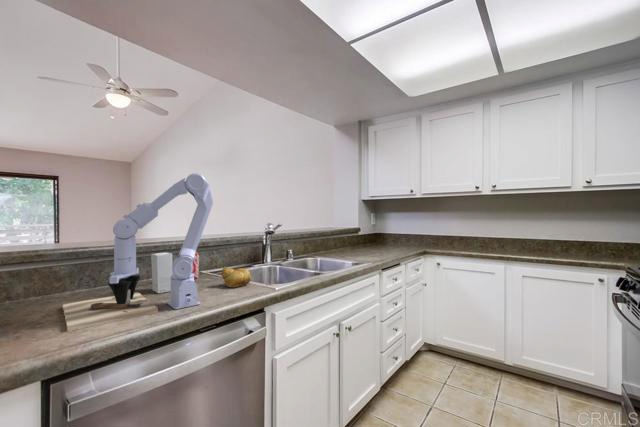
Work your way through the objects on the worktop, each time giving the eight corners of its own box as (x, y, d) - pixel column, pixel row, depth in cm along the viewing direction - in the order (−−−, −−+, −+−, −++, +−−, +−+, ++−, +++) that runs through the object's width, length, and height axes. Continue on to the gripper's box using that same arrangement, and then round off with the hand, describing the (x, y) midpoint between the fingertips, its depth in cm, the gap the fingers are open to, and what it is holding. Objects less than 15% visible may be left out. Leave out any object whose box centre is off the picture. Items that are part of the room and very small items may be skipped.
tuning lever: (88, 309, 87) (88, 292, 87) (95, 305, 90) (95, 289, 90) (136, 308, 88) (136, 291, 88) (142, 304, 91) (142, 288, 92)
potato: (245, 280, 131) (245, 263, 131) (258, 284, 125) (258, 265, 125) (219, 286, 122) (219, 267, 122) (231, 290, 115) (231, 270, 115)
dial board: (158, 312, 89) (158, 308, 89) (67, 331, 74) (67, 326, 74) (137, 295, 108) (137, 291, 108) (62, 307, 93) (62, 303, 93)
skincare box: (173, 291, 113) (173, 253, 113) (156, 294, 109) (156, 254, 109) (167, 287, 119) (167, 251, 119) (150, 290, 115) (150, 252, 115)
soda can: (178, 282, 129) (178, 252, 129) (191, 278, 135) (191, 251, 135) (188, 283, 126) (188, 253, 126) (202, 280, 132) (202, 252, 132)
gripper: (122, 255, 97) (122, 295, 97) (97, 262, 82) (97, 309, 82) (145, 254, 98) (145, 294, 98) (125, 261, 84) (124, 308, 84)
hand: (125, 301), depth 90 cm, fingers open, 4 cm apart
